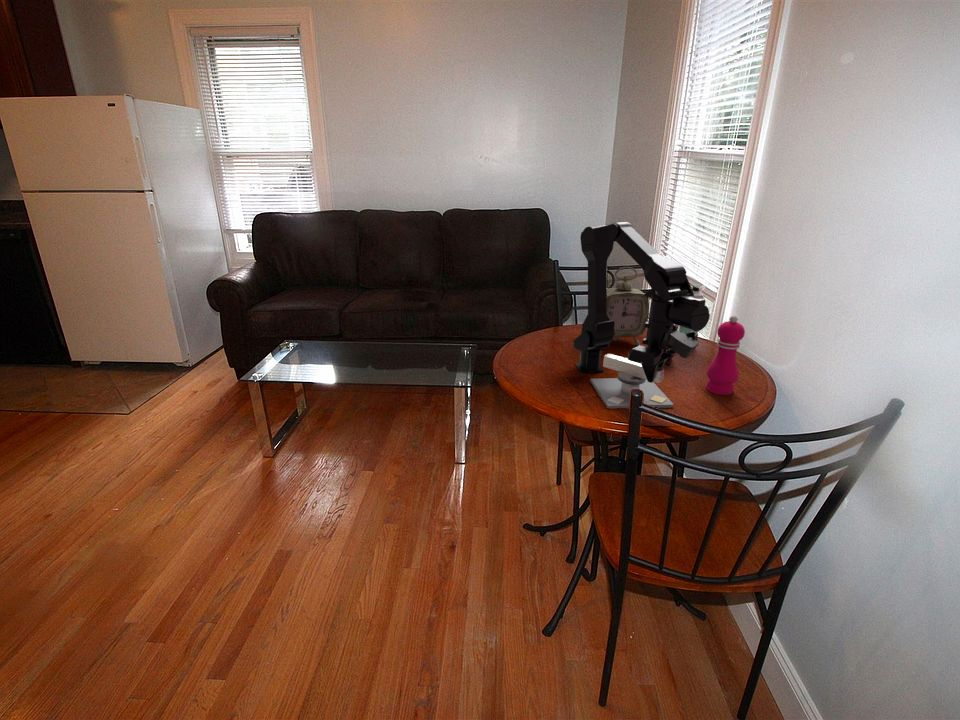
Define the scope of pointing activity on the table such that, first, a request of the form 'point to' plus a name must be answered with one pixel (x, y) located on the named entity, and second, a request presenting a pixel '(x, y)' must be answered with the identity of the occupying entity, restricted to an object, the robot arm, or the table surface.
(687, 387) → the table surface
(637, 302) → the tabletop clock
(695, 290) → the spray can
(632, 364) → the handle
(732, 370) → the pepper mill
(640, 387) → the base
